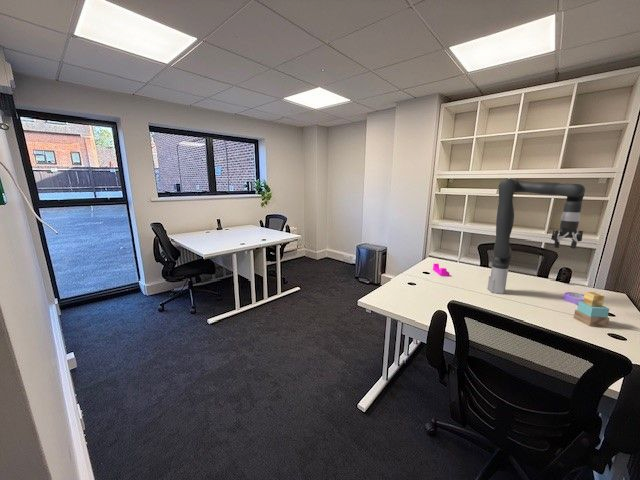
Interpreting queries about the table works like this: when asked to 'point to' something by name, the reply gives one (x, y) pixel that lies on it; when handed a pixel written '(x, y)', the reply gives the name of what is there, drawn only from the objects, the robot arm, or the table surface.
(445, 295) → the table surface
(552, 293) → the table surface
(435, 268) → the magenta irregular piece
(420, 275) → the table surface
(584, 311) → the block
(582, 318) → the tower base
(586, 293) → the ochre block
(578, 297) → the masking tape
